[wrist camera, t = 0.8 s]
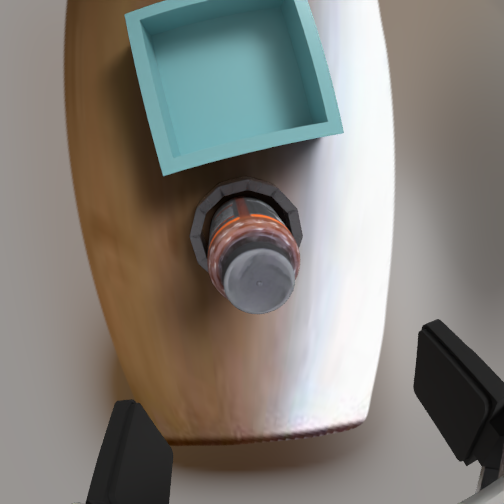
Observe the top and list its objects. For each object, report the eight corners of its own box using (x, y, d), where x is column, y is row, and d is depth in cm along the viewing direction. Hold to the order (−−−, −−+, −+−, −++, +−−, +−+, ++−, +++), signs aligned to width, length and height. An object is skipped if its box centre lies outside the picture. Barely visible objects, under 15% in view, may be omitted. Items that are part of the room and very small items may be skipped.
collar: (182, 193, 26) (177, 198, 24) (282, 167, 26) (288, 169, 24) (210, 284, 29) (209, 297, 27) (302, 261, 29) (309, 271, 27)
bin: (140, 33, 21) (124, 14, 16) (286, 1, 21) (299, -23, 16) (174, 169, 26) (163, 176, 21) (323, 134, 26) (343, 133, 21)
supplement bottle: (203, 251, 28) (193, 318, 18) (219, 186, 26) (216, 217, 16) (268, 266, 29) (292, 337, 19) (287, 203, 27) (326, 244, 17)
